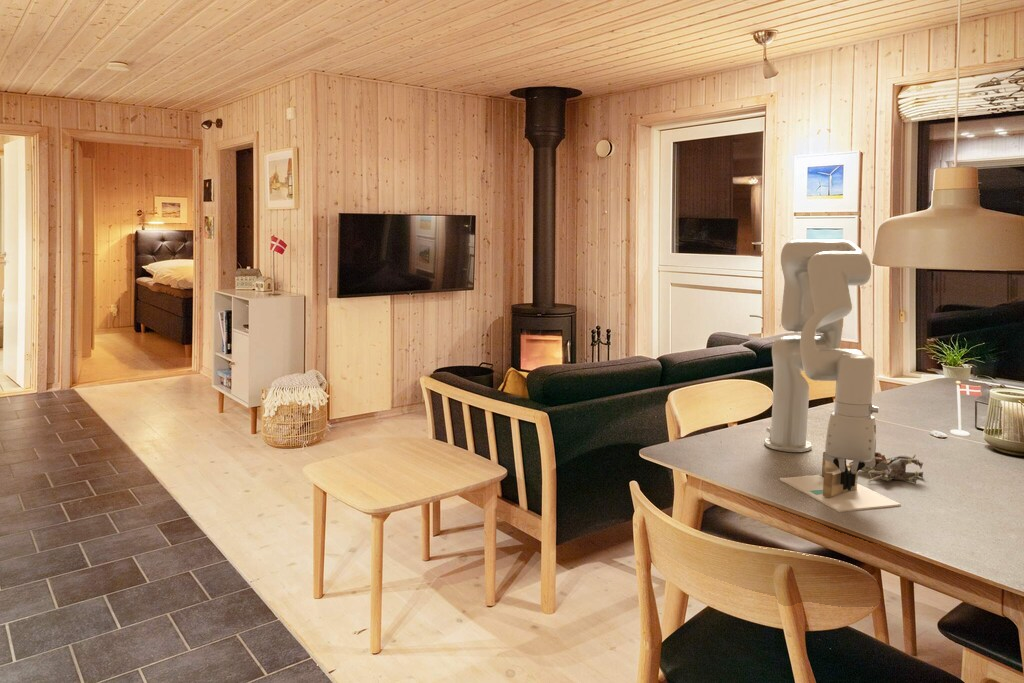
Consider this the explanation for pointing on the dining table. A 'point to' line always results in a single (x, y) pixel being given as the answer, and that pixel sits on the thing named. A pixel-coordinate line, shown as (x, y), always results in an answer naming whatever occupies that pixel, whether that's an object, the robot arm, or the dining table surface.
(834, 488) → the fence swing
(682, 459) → the dining table surface
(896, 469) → the figurine
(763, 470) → the dining table surface
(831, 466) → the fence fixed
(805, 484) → the card
